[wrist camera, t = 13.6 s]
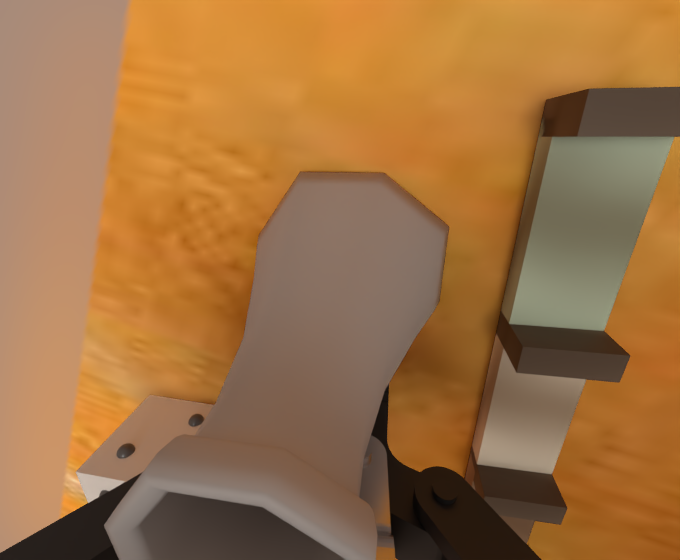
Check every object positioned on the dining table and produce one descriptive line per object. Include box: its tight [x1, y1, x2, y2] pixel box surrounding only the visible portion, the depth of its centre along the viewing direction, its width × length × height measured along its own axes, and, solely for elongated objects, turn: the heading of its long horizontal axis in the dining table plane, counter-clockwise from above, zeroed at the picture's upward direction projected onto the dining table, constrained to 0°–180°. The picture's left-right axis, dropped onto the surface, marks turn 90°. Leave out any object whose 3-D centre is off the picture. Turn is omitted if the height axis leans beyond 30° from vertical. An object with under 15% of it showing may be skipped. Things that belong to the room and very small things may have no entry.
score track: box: [465, 87, 680, 544], centre depth 14 cm, size 29×3×2 cm, turn 0°
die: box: [76, 395, 214, 503], centre depth 16 cm, size 5×5×5 cm
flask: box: [104, 172, 449, 560], centre depth 8 cm, size 7×7×10 cm
